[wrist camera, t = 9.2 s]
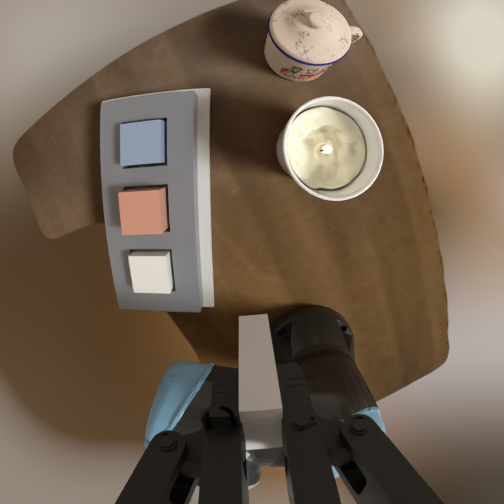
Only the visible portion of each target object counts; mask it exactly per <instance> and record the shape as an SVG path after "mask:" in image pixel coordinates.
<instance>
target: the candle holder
mask: <svg viewBox="0 0 504 504" xmlns="http://www.w3.org/2000/svg"><path fill="white" fill-rule="evenodd" d="M276 154H277V158H278V161H279V163H280V165H281V167H282V168H283V170H284V171H285V172H286V173H287V174H288V175H289V176H290V177H292V178H293V179H294V180H295V181H296V182H297V183H298V185H299V186H301V187H302V188H303V189H304V190H305V191H307V192H308V193H310V194H312V195H314V196H316V197H318V198H321V199H325V200H331V201H341V200H347V199H350V198H353V197H356V196H358V195H359V194H361V193H363V192H364V191H365V190H367V189H368V188H369V187H370V186H371V185H372V183H373V182H374V181H375V179H376V178H377V176H378V174H379V172H380V169H381V166H382V162H383V141H382V137H381V134H380V131H379V129H378V127H377V125H376V123H375V121H374V120H373V118H372V117H371V116H370V115H369V114H368V113H367V112H366V111H365V110H364V109H363V108H362V107H361V106H359V105H358V104H356V103H354V102H352V101H350V100H347V99H345V98H341V97H334V96H326V97H319V98H316V99H313V100H310V101H308V102H306V103H305V104H303V105H302V106H300V107H299V108H298V109H297V110H296V111H295V112H294V113H293V115H292V116H291V117H290V119H289V121H288V123H287V124H286V125H285V127H284V128H283V129H282V131H281V133H280V134H279V137H278V139H277V143H276Z"/></svg>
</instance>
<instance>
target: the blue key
mask: <svg viewBox="0 0 504 504" xmlns="http://www.w3.org/2000/svg"><path fill="white" fill-rule="evenodd" d="M163 162H167V122H165V121H163V120H161V119H160V120H150V121H142V122H134V123H126V124H120V164H121V166H127V165H138V164H150V163H163Z"/></svg>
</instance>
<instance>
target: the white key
mask: <svg viewBox="0 0 504 504" xmlns="http://www.w3.org/2000/svg"><path fill="white" fill-rule="evenodd" d="M128 258H129V265H130V272H131V278H132V285H133V291H134V293H166V294H170V293H171V291H172V289H173V286H174V284H175V280H174V270H173V260H172V249H135V250H134V251H133V252H132V253H131V254H130V255H129V256H128Z"/></svg>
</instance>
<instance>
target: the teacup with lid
mask: <svg viewBox="0 0 504 504" xmlns="http://www.w3.org/2000/svg"><path fill="white" fill-rule="evenodd" d="M361 37H362V32H361V30H360V29H359V28H358V27H355V26H349V25H348V23H347V21H346V20H345V18H344V17H343V16H342V15H341V13H340V12H338V11H337V10H336V9H335V8H333V7H332V6H330V5H329V4H327V3H325V2H322V1H319V0H288V1H286V2H284V3H282V4H280V5H279V6H278V7H276V8H275V9H274V10H273V12H272V13H271V15H270V17H269V20H268V35H267V39H266V44H265V49H264V52H265V58H266V61H267V63H268V64H269V66H270V67H271V69H272V70H273V71H274V72H276V73H277V74H278V75H280V76H281V77H283V78H285V79H288V80H292V81H298V82H304V81H310V80H313V79H315V78H317V77H319V76H320V75H321V74H323V73H324V72H325V71H326V70H327V69H328V68H329V67H330V66H331V65H332V64H333V63H335V62H337V61H339V60H341V59H342V58H343V57H344V56H345V55H346V54H347V52H348V50H349V48H350V45H351V43H352V42H355V41H357V40H358V39H360V38H361Z"/></svg>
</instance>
